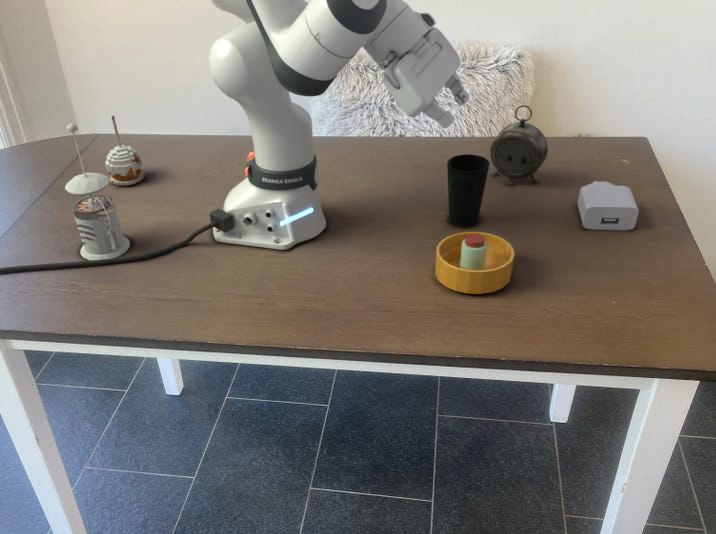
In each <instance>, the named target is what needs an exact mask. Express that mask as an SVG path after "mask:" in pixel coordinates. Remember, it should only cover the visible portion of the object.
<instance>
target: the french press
mask: <svg viewBox="0 0 716 534" xmlns="http://www.w3.org/2000/svg"><path fill="white" fill-rule="evenodd" d="M78 128H79V127H78V126H77V125H76V124H75V123H69V124H67V125H66V132H67V133H70V134H71V133H72V136H73V140H74V144H75V147H76V150H77V154H78V157H79V161H80V166H81V169H82V172H83V173H81V174H78V175H74V177H72V178H71V179H70V180H69V181H68V182H67V183H66V184H65V187H64V190H65V191H66V192H67V193H68V194H70V195H73V196H79V197H80V196H82V198H80V199H78V200H77V201H75V203H74V204H73V209H74V214H73V215H74V220H75V222H76V225H78V226H77V229H78V231H80V232H79V235H80V237H81V242H82V243H83V244H82V247H80V252H79V253H80V255H81V257H82V258H83V259H86V260H87V261H91V260H101V259H110V258H119V257H120V256H122V255H123V254H125V253H126V252H127V251H128V250H129V249H130V246H131V243H130V242H131V241H130V240H129V239H128V238H127V237H125V236H124V234H123V231H122V228H121V224H120V219H119V215H118V212H117V208H116V205H115V203H113V198H111V196H109V195H107V194H99V193H100V192H102V191H104V190H105V189H106V188H107V186H108V185H109V183H110V179H109V177H108V176H107V175H106V174H102V173H99V172H86V171H85V167H84V164H83V160H82V156H81V153H80V150H79V146H78V143H77V139H76V135H75V133H76V132H77V131H78V130H79V129H78ZM97 193H98V194H97ZM83 196H84V197H83ZM110 210H113V211H111V212H108V211H110ZM101 212H105V213H101ZM105 218H107V219H105ZM108 223H109V224H108ZM107 224H108V225H107ZM108 229H109V230H108Z"/></svg>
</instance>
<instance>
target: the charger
mask: <svg viewBox="0 0 716 534" xmlns="http://www.w3.org/2000/svg"><path fill="white" fill-rule="evenodd" d="M577 207H578V211H579V215H580V220H581V223H582V224H581V225H582V227H583V228H585V229H588V230H600V231H601V230H602V231H603V230H604V231H630V230H633V229H634V228H635V227H636V224H637V220H638V216H639V212H640V210H639V208H638V205H637V202H636V199H635V197H634V194H633V191H632V189H631V187H630V186H628V185H627V186H626V185H615V184H613V183H611V182H609V181H606V180H602V181H596V180H594V181H593V182H592V183H589V184H587V185H583V186H582V187H580V189H579V194H578V199H577Z"/></svg>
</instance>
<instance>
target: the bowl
mask: <svg viewBox="0 0 716 534" xmlns="http://www.w3.org/2000/svg"><path fill="white" fill-rule="evenodd" d="M473 233H476V234H481V235H483V236H484V237H485V241H486V242H487V252H486V260H485V269H484V270H467V269H462V268H460V260H461V249H462V241H463V240H464V239H465V238H466V236H467V235H469V234H473ZM435 249H436V251H435V264H434V265H435V266H434V272H435V273H434V275H435V278H436V279H437V280H438V282H439V283H441V284H442V285H443V286H444V287H446V288H447V289H450V290H453V291H455V292H457V293H464V294H472V295H477V294H478V295H481V294H489V293H494V292H496V291H500V290H501V289H503V288H505V287H506V286H507V285H508V284H509V283H510V281H511V279H512V276H513V269H514V262H515V255H516V254H515V248H514V247H513V245H511V243H510V242H509V241H507V240H506V239H504V238H503V237H501V236H498V235H496V234H492V233H488V232H483V231H463V232H457V233H454V234H451V235H447V236H446V237H445V238H443V239H442V240H440V241H439V243H438V244H437V246H436V248H435Z"/></svg>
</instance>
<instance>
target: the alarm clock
mask: <svg viewBox="0 0 716 534" xmlns="http://www.w3.org/2000/svg"><path fill="white" fill-rule="evenodd" d="M521 108H527V109H528V110H529V117H528V118H527V119H525V118H521V119H520V118H519V117H518V114H517V113H518V110H519V109H521ZM514 116H515V118H516V120H517V122H513V123H509V124H508V125H505V126H504V127H503V128H502V129H501V131H500V132H499V133H498V134H497V135H496V136H495V138H494V139H493V140H492V143H491V146H490V148H489V149H490V150H489V155H490V160H491V163H492V165H493V167H494V168H495V169H496V171H495V172H494V175H495V176H496V175H498V174H499V173H500V175H502V176H504V177H505V178H508V182H507V184H508V185H509V186H511V185H512V184H513V180H524V179H527V178H530V179H531V180H532V182H533V184H536V183H537V180H536V177H535V174H536V173H537V172H538V171H539V169H540V168H541V167H542V165H543V164H544V163H545V161H546V159H547V156H548V152H549V147H548V145H549V144H548V141H547V139H546V137H545V134H544V133H543V132H542V131H541V130H540V129H539V128H538V127H537V126H535V125H533V124H531V123H528V121H529V120H531V118H532V116H533V110H532V108H531V107H530V106H529V105H525V104H521V105H519V106H518V107H516V108H515V111H514Z"/></svg>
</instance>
